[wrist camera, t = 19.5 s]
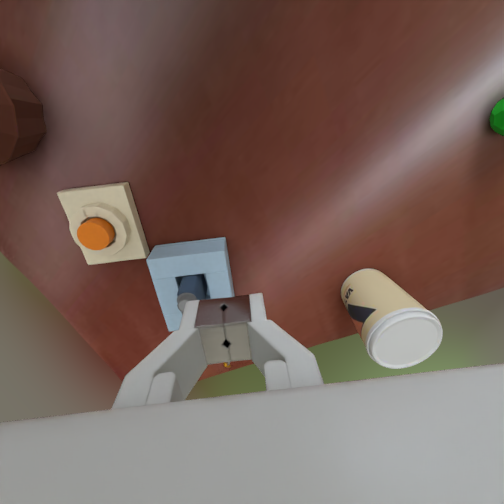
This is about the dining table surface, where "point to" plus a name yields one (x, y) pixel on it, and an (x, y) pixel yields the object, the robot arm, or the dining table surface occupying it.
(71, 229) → the button box
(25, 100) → the muffin
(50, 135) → the dining table surface
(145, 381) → the robot arm
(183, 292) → the vaping device
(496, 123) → the polyhedron
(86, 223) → the orange button
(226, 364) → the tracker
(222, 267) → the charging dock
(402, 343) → the coffee cup
